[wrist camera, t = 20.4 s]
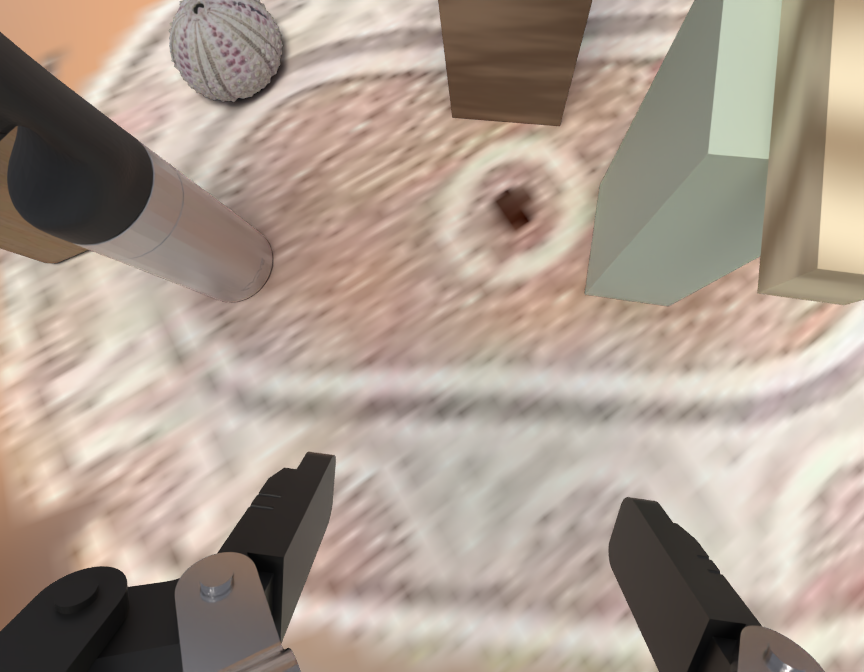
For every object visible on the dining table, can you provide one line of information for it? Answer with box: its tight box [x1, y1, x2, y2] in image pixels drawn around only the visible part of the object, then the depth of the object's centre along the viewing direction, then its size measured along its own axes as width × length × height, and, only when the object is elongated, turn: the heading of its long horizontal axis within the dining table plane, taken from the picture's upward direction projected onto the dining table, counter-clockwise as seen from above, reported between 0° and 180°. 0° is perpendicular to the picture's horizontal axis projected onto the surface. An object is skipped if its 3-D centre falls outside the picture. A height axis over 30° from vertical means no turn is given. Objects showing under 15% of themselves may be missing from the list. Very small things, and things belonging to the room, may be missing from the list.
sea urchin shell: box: [169, 0, 283, 102], centre depth 49 cm, size 13×14×8 cm
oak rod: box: [757, 0, 864, 305], centre depth 17 cm, size 22×3×3 cm, turn 170°
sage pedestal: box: [585, 0, 782, 306], centre depth 30 cm, size 12×8×24 cm, turn 170°
